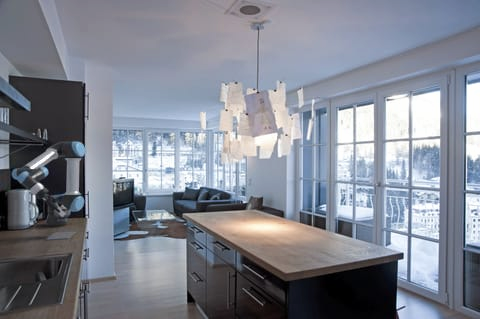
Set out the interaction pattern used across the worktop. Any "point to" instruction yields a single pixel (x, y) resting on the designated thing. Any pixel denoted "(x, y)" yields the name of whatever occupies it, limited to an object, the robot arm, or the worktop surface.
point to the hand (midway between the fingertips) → (66, 214)
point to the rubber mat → (60, 235)
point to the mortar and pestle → (60, 218)
